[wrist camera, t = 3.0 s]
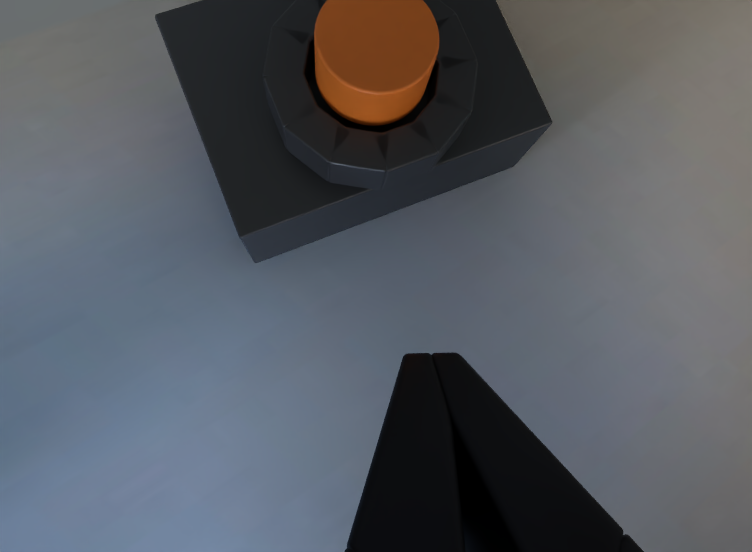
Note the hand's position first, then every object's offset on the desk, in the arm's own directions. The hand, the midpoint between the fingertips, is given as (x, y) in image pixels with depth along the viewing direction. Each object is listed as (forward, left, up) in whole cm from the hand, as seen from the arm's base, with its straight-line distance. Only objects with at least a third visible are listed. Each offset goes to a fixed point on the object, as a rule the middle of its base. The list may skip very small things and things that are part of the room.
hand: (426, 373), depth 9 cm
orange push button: (+6, -7, -8) cm, 12 cm away
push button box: (+7, -7, -14) cm, 17 cm away
